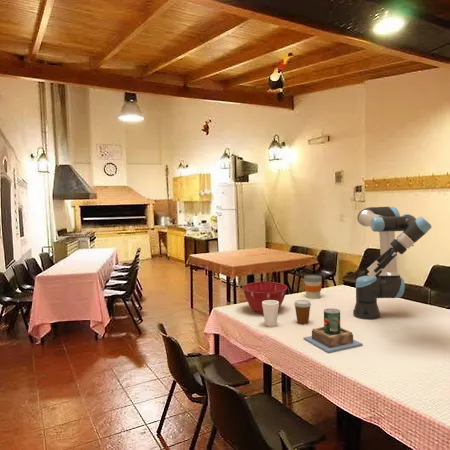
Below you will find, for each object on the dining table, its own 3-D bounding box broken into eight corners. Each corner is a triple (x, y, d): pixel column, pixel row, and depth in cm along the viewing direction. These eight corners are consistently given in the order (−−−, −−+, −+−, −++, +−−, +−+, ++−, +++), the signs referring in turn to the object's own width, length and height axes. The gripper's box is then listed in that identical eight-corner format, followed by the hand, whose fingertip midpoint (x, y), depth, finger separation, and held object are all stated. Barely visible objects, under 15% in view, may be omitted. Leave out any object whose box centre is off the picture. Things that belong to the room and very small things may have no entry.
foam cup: (268, 328, 220) (267, 305, 219) (259, 324, 228) (258, 301, 227) (282, 325, 224) (282, 302, 224) (273, 321, 233) (272, 299, 232)
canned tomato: (320, 331, 198) (320, 309, 197) (333, 329, 201) (333, 307, 200) (330, 336, 191) (330, 313, 190) (344, 333, 194) (343, 311, 193)
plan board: (335, 333, 209) (335, 331, 209) (362, 345, 191) (362, 343, 191) (303, 339, 202) (303, 337, 202) (328, 353, 183) (328, 351, 183)
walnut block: (334, 333, 205) (334, 324, 205) (353, 342, 193) (353, 332, 192) (311, 338, 200) (311, 328, 200) (329, 347, 187) (329, 337, 187)
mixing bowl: (295, 314, 245) (294, 289, 244) (250, 318, 238) (250, 293, 237) (277, 302, 273) (277, 280, 272) (237, 306, 266) (237, 283, 265)
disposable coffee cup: (311, 325, 223) (311, 304, 222) (294, 324, 225) (293, 303, 224) (311, 320, 232) (310, 299, 232) (294, 319, 234) (294, 299, 233)
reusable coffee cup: (304, 299, 279) (304, 278, 278) (303, 295, 291) (303, 274, 290) (322, 299, 277) (322, 278, 275) (321, 295, 289) (321, 274, 288)
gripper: (410, 253, 182) (375, 284, 187) (404, 245, 205) (373, 273, 211) (398, 241, 183) (363, 272, 189) (393, 235, 207) (363, 263, 212)
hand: (369, 273), depth 200 cm, fingers open, 13 cm apart
